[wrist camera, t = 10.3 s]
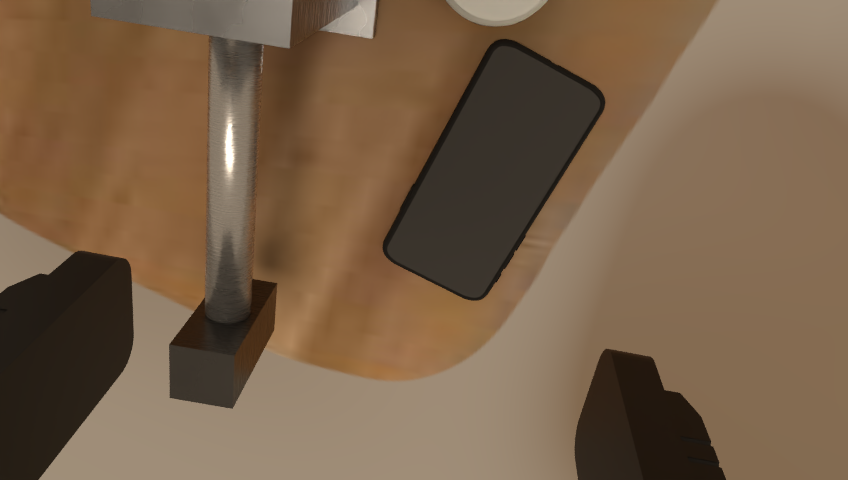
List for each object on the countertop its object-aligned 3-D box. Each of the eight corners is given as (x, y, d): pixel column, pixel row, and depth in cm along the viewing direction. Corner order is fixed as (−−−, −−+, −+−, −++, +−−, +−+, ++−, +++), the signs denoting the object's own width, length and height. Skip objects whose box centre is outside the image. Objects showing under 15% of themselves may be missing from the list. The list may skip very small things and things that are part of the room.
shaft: (230, -16, 32) (165, -1, 25) (295, -6, 32) (247, 12, 25) (221, 320, 39) (170, 397, 33) (274, 329, 39) (232, 408, 33)
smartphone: (615, 96, 38) (480, 308, 44) (612, 93, 39) (481, 301, 45) (495, 31, 37) (375, 256, 43) (495, 29, 38) (377, 250, 44)
